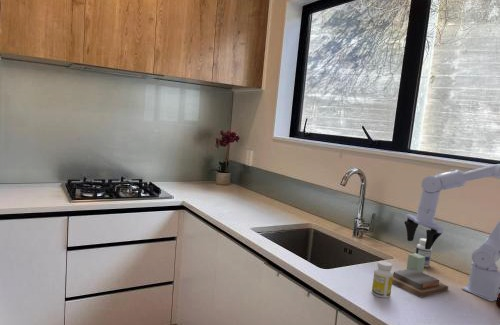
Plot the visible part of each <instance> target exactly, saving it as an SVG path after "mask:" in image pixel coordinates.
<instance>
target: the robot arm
mask: <svg viewBox="0 0 500 325" xmlns="http://www.w3.org/2000/svg"><path fill="white" fill-rule="evenodd" d="M488 177H489V178H490V177H494V178H497V179H498V178H499V179H500V163H497V164H492V165H491V164H490V165H486V166H483V167H479V168H475V169H472V170H468V171H462V170H460V169H456V168H451V169H450V171H446V172H443V173H440V172H437V173H435V175H428V176H426V177H424V178H423V179H422V180H421V188H422V191H421V195H420V198H419V202H418V206H417V211H416V215H413V214H412V213H405V217H404V218H405V221H404V225H405V228H406V237H407V238H406V239H407V241H408V242H413V241H414V238H415V234H416V231H417V229H418V226H419V225H420V226H423V227H425V228H427V229H426V238H425V239H426V244H425V249H426V250H428V249H431V247H432V248H433V245H434V244H435V242H436V241H437V239H438V238H439V237H440V236H441V235H443V234H442V233H444V229H445V228H444V227H443V226H441V225H439V224H437V223H435V222H434V219H435V216H436V211H437V207H438V203H439V196H440V192H441V191H442V190H443V191H446V190H450V189H454V188H460V187H464V186H465V184H466V183H468V181H473V180H480V179H484V178H488ZM499 259H500V219H499V221H498V222H497V224H496V225H495V227H494V228H493V230H491V232H490V234H489V235H488V237H487V238H486V240H484V242H483V243H482V244H481V245H480V246H479V247H478V248H477V249H475V250H474V251H472V253H471V260H472V262H471V265H470V266H471V267H470V270H469V271H470V272H469V276H468V283H467V285H466V286H462V287H461V290H463V291H466V292H469V293H470V294H472V295H475V296H477V297H480V298H482V299H484V300H487V301H489V302H494V301H497V297H498V294H499V293H500V271H499V270H498V269H499V268H498V265H497V264H496V263H497V262H498V261H499Z"/></svg>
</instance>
